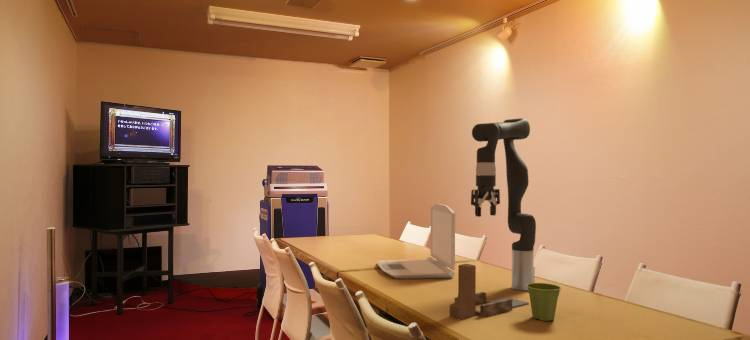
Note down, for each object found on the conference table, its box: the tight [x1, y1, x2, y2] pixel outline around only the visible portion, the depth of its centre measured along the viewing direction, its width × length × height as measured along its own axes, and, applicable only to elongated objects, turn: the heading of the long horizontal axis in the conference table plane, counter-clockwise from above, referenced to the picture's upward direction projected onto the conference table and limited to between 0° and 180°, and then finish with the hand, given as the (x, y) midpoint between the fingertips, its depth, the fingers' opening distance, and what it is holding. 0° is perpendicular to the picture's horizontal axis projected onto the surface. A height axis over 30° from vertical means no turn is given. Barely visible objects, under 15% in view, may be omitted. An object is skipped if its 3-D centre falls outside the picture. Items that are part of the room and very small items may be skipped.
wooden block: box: [449, 263, 477, 320], centre depth 175 cm, size 9×4×18 cm, turn 128°
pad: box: [489, 296, 530, 309], centre depth 194 cm, size 10×11×1 cm
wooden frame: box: [454, 291, 513, 318], centre depth 185 cm, size 16×14×4 cm
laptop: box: [377, 203, 456, 280], centre depth 256 cm, size 42×33×35 cm
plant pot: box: [526, 282, 562, 322], centre depth 174 cm, size 12×12×11 cm
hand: (485, 215), depth 194 cm, fingers open, 8 cm apart
